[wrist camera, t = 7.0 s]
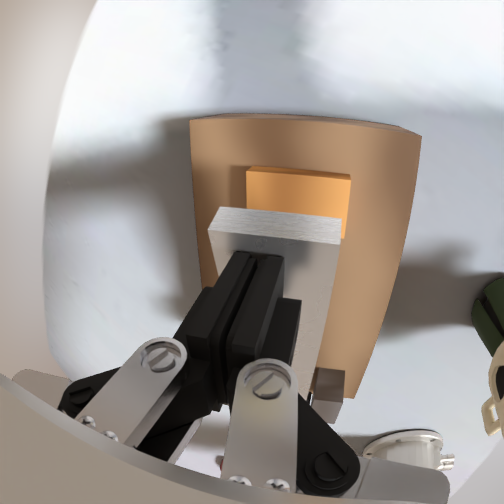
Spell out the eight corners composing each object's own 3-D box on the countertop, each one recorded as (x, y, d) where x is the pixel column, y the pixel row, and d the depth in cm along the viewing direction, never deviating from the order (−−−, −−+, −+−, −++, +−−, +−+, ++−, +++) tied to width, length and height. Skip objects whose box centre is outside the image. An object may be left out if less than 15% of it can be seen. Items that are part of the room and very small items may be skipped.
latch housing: (398, 126, 17) (440, 144, 10) (355, 348, 27) (351, 428, 19) (226, 113, 20) (160, 126, 13) (234, 330, 30) (200, 401, 22)
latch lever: (351, 219, 9) (350, 245, 8) (310, 394, 21) (307, 408, 20) (211, 205, 10) (198, 228, 9) (251, 384, 22) (247, 398, 21)
